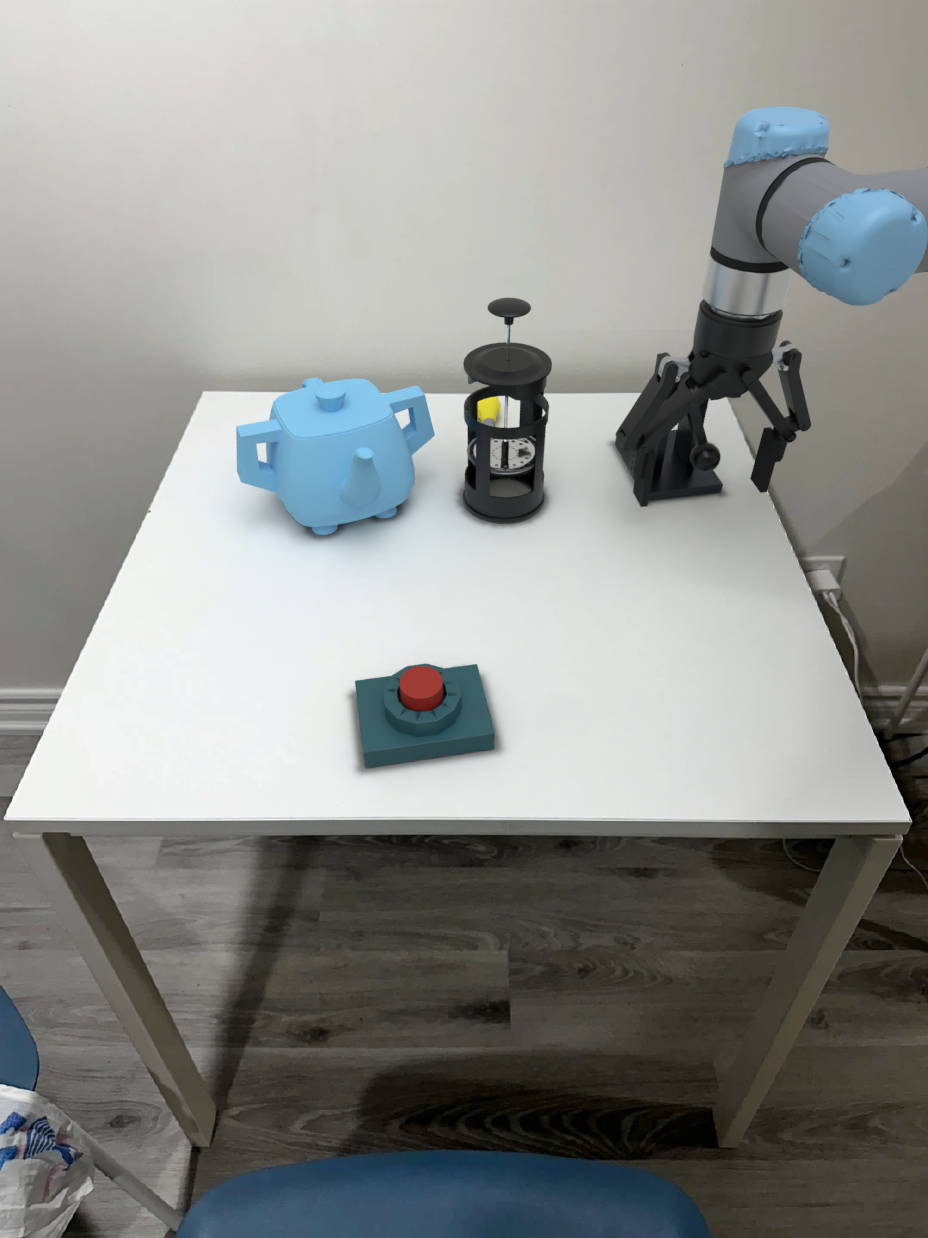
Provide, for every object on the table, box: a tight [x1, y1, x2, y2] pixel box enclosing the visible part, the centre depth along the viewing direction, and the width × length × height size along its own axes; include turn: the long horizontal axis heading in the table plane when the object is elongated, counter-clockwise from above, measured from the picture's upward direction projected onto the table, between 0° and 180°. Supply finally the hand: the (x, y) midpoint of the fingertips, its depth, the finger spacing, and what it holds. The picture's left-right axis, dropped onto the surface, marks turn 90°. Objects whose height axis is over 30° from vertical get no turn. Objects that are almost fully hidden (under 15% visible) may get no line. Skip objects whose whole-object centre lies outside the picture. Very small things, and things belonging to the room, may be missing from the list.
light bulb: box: [478, 396, 502, 427], centre depth 108 cm, size 3×6×4 cm, turn 4°
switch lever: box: [677, 372, 722, 473], centre depth 92 cm, size 13×3×3 cm, turn 10°
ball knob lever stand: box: [614, 352, 724, 502], centre depth 97 cm, size 12×9×14 cm
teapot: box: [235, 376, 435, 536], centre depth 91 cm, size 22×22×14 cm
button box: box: [354, 663, 496, 769], centre depth 73 cm, size 8×11×4 cm
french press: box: [462, 297, 553, 524], centre depth 90 cm, size 12×9×23 cm
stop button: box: [400, 666, 443, 712], centre depth 71 cm, size 4×4×2 cm
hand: (699, 492), depth 93 cm, fingers open, 13 cm apart
